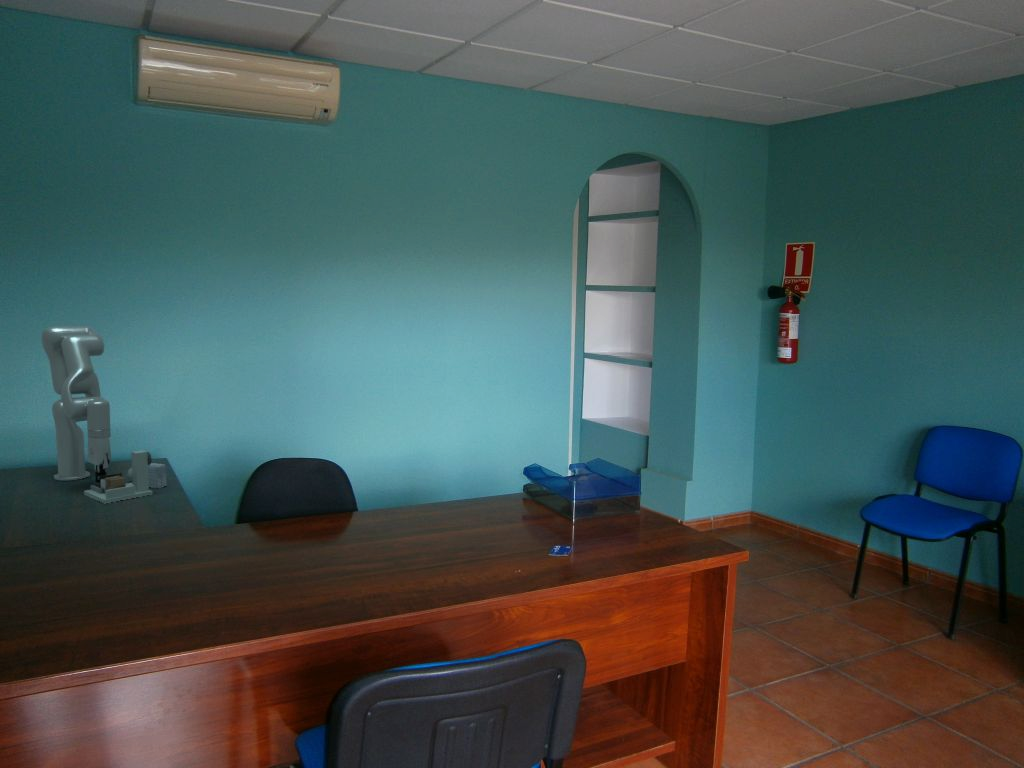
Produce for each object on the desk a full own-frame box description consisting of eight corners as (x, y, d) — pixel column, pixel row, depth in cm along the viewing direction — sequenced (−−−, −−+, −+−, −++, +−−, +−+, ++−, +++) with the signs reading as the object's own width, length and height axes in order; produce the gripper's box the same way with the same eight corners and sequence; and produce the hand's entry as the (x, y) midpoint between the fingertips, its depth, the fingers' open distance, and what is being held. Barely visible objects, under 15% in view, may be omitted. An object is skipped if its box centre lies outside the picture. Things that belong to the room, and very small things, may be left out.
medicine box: (166, 486, 304) (166, 464, 303) (158, 489, 300) (157, 466, 299) (150, 484, 307) (149, 462, 306) (141, 487, 302) (140, 464, 301)
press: (84, 494, 290) (82, 451, 288) (133, 486, 303) (131, 445, 301) (104, 504, 279) (102, 459, 277) (154, 494, 292) (153, 452, 290)
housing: (105, 494, 286) (105, 477, 285) (120, 491, 289) (119, 474, 289) (111, 496, 282) (111, 479, 282) (126, 494, 286) (125, 477, 285)
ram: (96, 492, 287) (95, 475, 286) (119, 488, 293) (118, 471, 292) (101, 494, 285) (100, 477, 284) (124, 490, 291) (123, 473, 290)
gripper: (80, 431, 293) (82, 479, 296) (97, 437, 284) (98, 487, 286) (101, 429, 299) (103, 476, 302) (118, 435, 289) (120, 484, 292)
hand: (101, 481), depth 294 cm, fingers closed
